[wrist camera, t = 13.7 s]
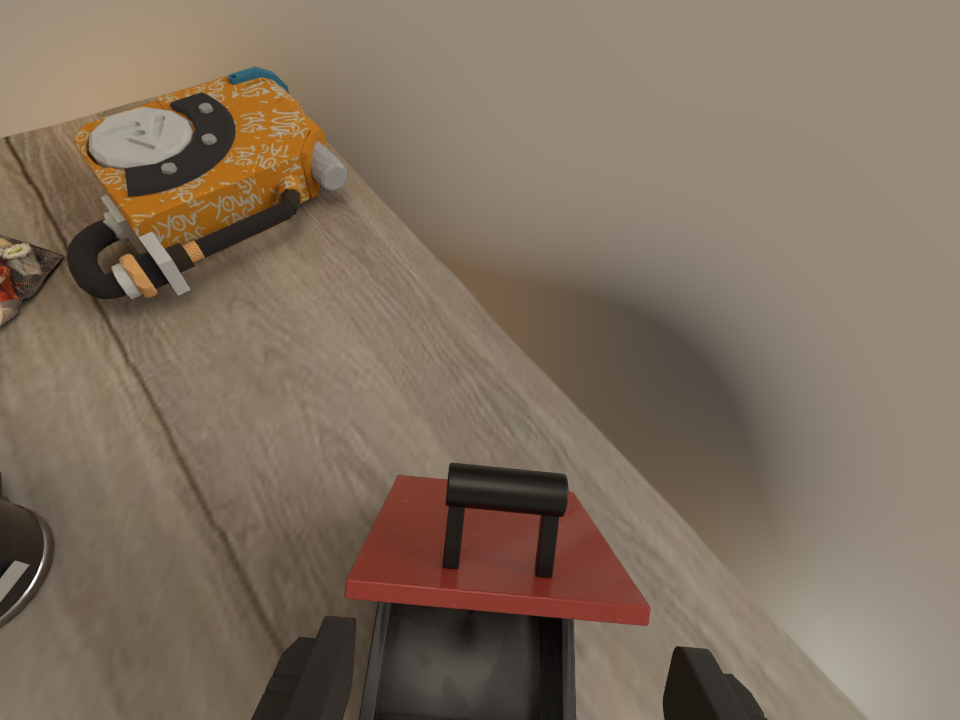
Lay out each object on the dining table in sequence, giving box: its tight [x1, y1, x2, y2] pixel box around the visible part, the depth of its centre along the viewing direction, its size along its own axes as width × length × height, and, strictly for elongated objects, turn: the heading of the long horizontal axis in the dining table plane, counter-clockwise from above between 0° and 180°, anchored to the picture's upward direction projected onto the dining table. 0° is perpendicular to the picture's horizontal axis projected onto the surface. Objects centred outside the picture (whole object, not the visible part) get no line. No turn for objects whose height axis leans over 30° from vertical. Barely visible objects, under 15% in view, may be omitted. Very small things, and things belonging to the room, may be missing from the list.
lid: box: [345, 463, 650, 626], centre depth 27 cm, size 15×12×5 cm
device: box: [67, 67, 348, 300], centre depth 54 cm, size 23×8×30 cm
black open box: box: [359, 602, 576, 720], centre depth 35 cm, size 14×12×8 cm
